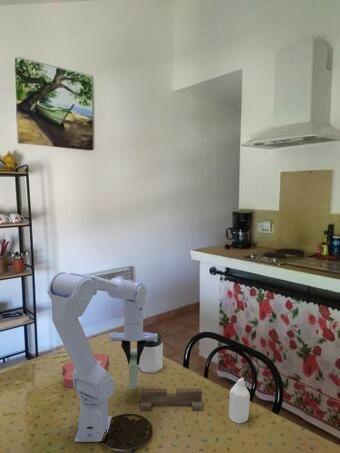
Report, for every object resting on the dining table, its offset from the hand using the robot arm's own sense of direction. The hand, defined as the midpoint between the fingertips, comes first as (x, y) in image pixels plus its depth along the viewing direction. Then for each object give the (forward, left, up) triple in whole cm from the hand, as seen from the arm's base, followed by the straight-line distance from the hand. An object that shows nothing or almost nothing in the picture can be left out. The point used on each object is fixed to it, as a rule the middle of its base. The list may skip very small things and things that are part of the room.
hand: (133, 363), depth 106 cm
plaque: (+13, +19, -11) cm, 25 cm away
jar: (+17, -5, -11) cm, 21 cm away
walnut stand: (-5, -12, -10) cm, 16 cm away
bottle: (-11, -31, -11) cm, 34 cm away
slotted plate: (0, 0, -5) cm, 5 cm away
